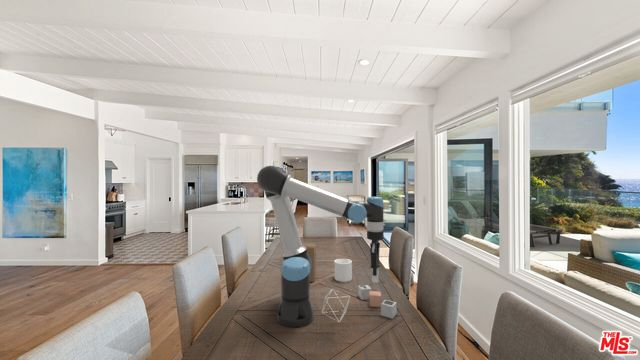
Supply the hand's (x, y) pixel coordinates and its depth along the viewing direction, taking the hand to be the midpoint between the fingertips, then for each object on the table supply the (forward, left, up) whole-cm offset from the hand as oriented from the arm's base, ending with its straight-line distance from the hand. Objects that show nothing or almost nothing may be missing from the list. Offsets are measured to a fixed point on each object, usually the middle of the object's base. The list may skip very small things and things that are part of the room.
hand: (375, 281), depth 127 cm
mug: (+28, +23, -11) cm, 38 cm away
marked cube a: (-8, -7, -10) cm, 15 cm away
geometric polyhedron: (-16, +14, -11) cm, 24 cm away
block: (+19, +42, -11) cm, 47 cm away
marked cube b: (+6, +6, -10) cm, 13 cm away
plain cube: (0, 0, -10) cm, 10 cm away
